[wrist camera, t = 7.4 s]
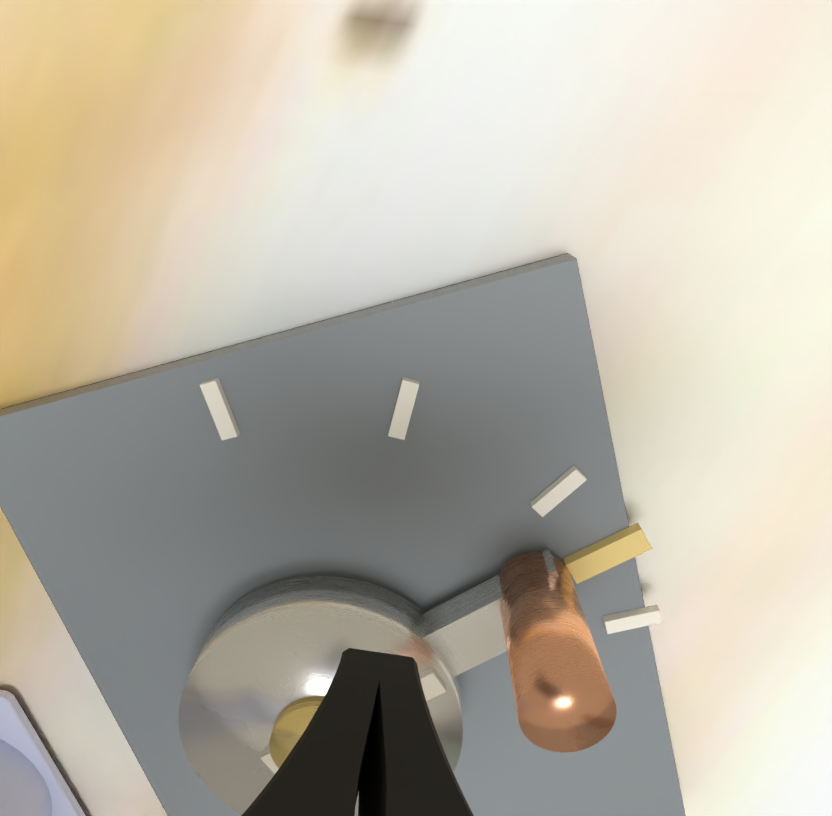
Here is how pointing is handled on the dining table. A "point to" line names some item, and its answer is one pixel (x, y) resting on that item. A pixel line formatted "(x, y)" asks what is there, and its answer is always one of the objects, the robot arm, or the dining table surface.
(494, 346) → the board
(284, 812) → the robot arm
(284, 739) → the dial
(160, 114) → the dining table surface
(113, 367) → the dining table surface
